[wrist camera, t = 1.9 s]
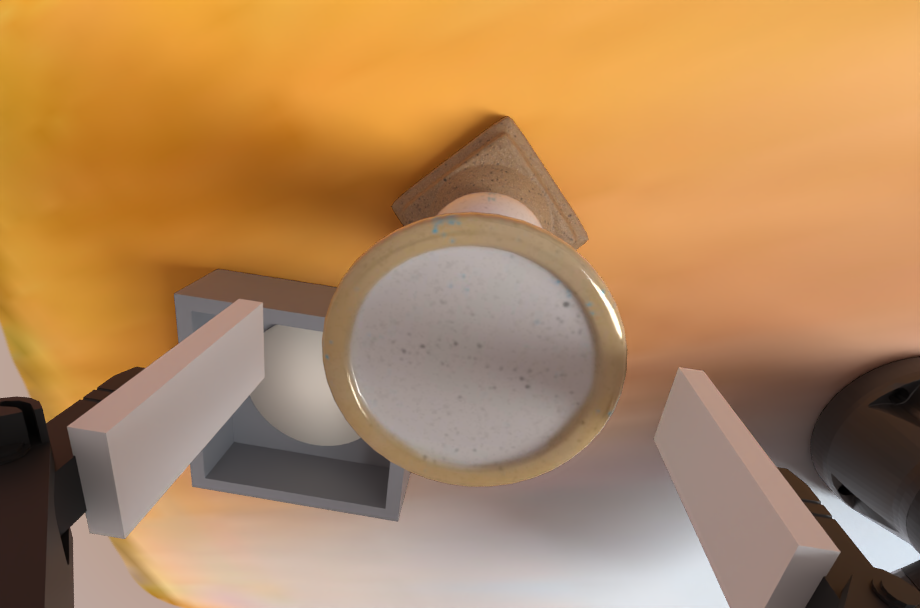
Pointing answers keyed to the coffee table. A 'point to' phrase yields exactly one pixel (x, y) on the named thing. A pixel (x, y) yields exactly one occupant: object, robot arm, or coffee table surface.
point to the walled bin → (288, 408)
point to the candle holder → (477, 325)
